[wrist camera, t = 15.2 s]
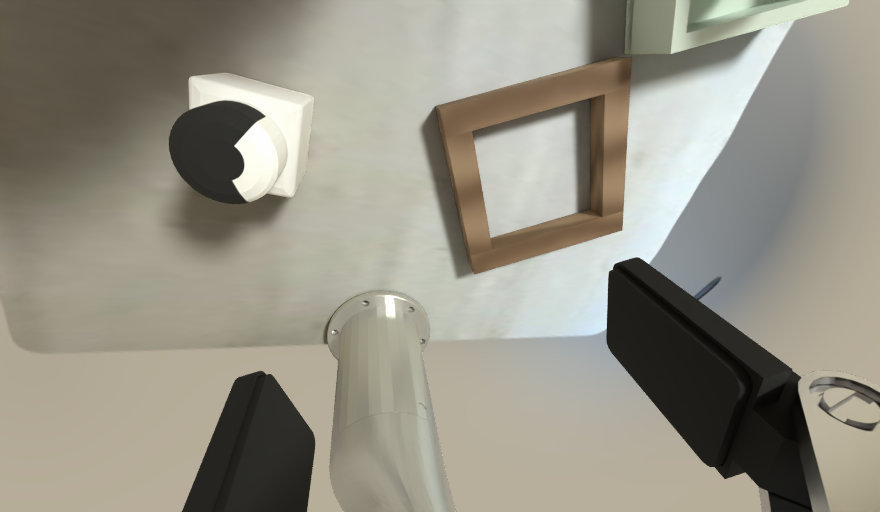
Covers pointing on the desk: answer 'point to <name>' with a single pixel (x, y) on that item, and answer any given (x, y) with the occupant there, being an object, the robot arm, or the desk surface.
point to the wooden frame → (462, 116)
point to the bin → (707, 21)
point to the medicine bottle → (242, 138)
